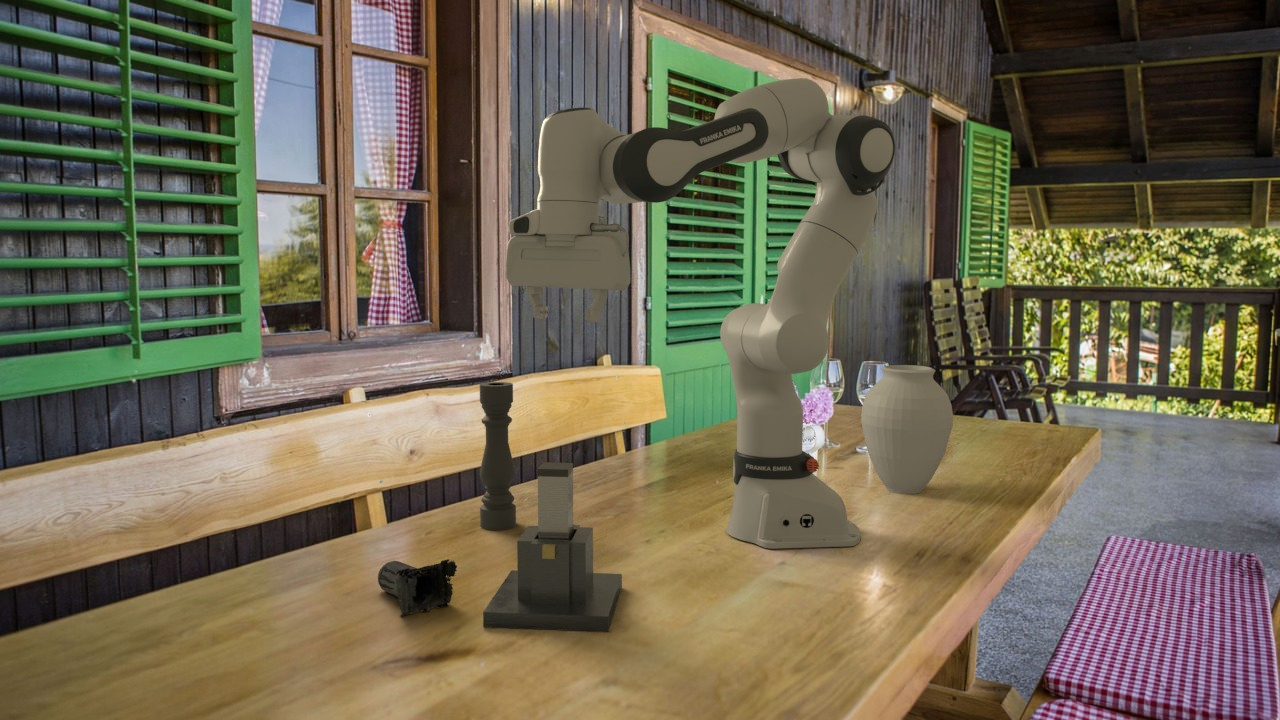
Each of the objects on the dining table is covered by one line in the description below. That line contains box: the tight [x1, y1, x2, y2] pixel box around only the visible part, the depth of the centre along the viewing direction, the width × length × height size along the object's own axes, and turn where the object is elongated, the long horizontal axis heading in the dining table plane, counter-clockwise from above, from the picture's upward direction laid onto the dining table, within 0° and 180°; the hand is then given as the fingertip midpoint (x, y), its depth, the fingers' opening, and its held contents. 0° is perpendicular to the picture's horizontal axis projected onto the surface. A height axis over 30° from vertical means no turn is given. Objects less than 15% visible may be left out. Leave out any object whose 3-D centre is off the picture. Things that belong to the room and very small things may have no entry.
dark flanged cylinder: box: [377, 559, 458, 617], centre depth 128 cm, size 9×8×12 cm
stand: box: [482, 524, 623, 633], centre depth 126 cm, size 16×16×10 cm
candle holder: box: [479, 381, 517, 531], centre depth 163 cm, size 6×6×25 cm
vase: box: [860, 364, 954, 495], centre depth 189 cm, size 18×18×25 cm
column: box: [537, 461, 575, 540], centre depth 125 cm, size 4×4×17 cm
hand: (565, 320), depth 135 cm, fingers open, 8 cm apart
